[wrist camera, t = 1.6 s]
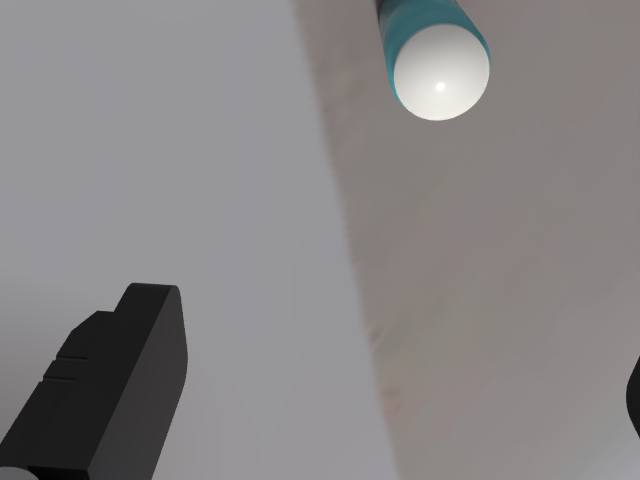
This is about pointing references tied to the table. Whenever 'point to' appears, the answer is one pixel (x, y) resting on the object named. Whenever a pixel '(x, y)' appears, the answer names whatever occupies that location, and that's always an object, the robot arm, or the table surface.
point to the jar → (433, 57)
